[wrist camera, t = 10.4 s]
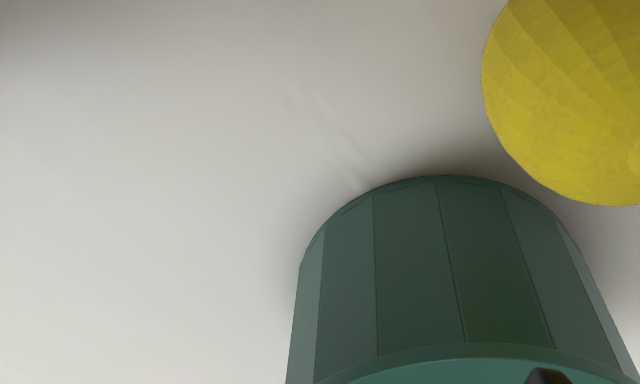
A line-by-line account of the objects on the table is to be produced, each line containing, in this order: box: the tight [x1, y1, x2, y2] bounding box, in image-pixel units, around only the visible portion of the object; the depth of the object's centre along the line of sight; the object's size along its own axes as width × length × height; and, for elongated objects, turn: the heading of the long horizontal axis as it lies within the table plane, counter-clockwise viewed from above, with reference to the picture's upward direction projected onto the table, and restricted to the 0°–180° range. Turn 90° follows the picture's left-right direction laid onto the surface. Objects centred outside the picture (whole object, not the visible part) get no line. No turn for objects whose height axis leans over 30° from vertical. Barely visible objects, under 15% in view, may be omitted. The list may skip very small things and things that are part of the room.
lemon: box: [480, 0, 640, 206], centre depth 14 cm, size 6×6×8 cm
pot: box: [285, 175, 640, 384], centre depth 21 cm, size 11×11×8 cm
